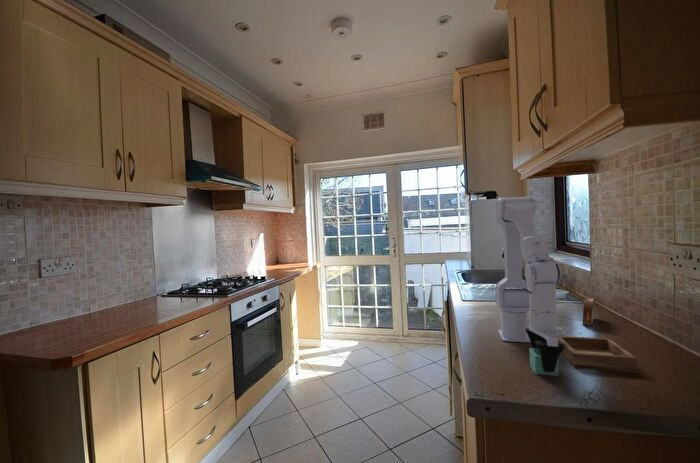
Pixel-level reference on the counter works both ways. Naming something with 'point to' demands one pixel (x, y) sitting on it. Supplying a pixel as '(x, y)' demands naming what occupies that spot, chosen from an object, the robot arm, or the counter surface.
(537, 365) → the small crate
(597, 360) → the big crate
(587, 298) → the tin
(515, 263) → the robot arm
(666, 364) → the counter surface
